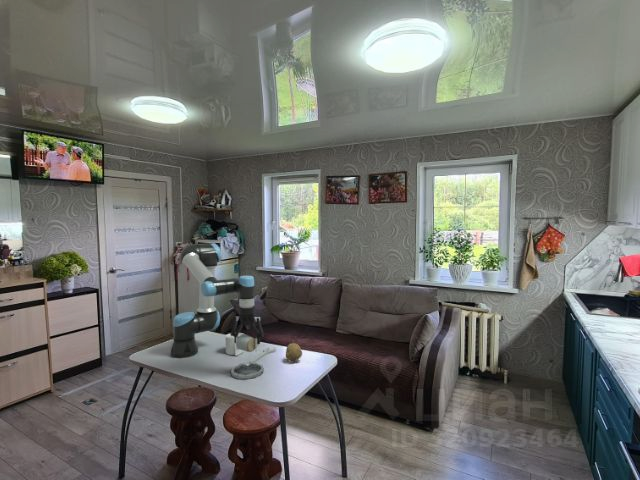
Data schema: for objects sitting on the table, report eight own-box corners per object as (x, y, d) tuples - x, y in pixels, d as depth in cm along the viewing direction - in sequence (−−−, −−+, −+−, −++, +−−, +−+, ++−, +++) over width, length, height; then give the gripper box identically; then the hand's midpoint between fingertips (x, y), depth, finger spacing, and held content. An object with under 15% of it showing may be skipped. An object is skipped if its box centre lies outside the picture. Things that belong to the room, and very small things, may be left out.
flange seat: (225, 378, 165) (225, 374, 165) (239, 365, 181) (239, 361, 181) (256, 380, 162) (256, 376, 162) (267, 367, 178) (267, 363, 178)
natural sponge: (304, 359, 188) (304, 342, 188) (297, 365, 180) (297, 347, 180) (290, 357, 192) (290, 340, 191) (283, 363, 183) (282, 345, 183)
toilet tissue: (236, 347, 208) (236, 331, 208) (249, 351, 201) (249, 335, 200) (221, 352, 200) (221, 335, 199) (234, 357, 192) (234, 339, 192)
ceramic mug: (247, 354, 165) (247, 338, 165) (236, 351, 170) (236, 335, 170) (262, 348, 174) (262, 333, 174) (251, 345, 179) (251, 331, 178)
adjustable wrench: (250, 366, 181) (250, 363, 180) (241, 364, 184) (240, 360, 184) (277, 351, 203) (277, 348, 202) (268, 349, 206) (268, 346, 206)
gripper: (223, 307, 169) (223, 351, 169) (265, 308, 165) (265, 353, 165) (229, 304, 176) (230, 346, 177) (270, 305, 172) (270, 348, 173)
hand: (247, 349), depth 171 cm, fingers closed on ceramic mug, 10 cm apart
